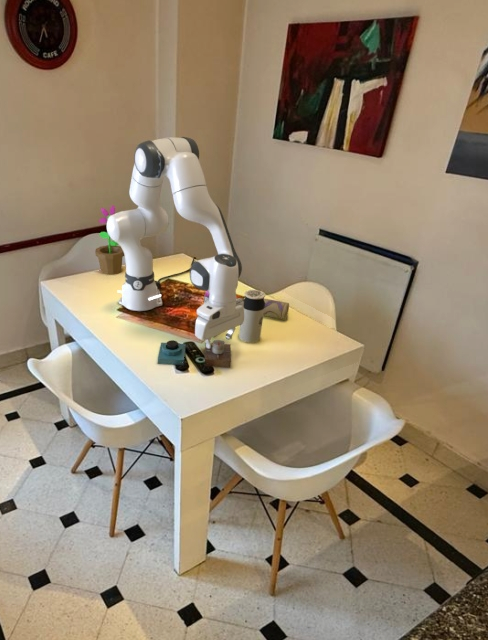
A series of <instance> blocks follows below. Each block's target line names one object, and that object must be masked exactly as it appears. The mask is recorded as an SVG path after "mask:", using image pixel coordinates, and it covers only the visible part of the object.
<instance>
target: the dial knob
mask: <svg viewBox="0 0 488 640" xmlns="http://www.w3.org/2000/svg"><path fill="white" fill-rule="evenodd" d="M212 343H213V347H212V352H213V353H215V354H222V353H223V352H224V344H225V341H224V340H222V339H215V340H213V341H212Z"/></svg>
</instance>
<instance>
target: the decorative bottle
mask: <svg viewBox="0 0 488 640" xmlns="http://www.w3.org/2000/svg"><path fill="white" fill-rule="evenodd" d="M238 299H241V300H244V299H245V298H243V297H237V298H236V300H238ZM264 301H265V307H264V314H263V316H265V317H271V318H275V319H280V320H286V319H287V317H288V315H289V310H290V303H289V302H284V301H280V300H275V299H269V298H264Z"/></svg>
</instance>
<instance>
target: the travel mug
mask: <svg viewBox="0 0 488 640" xmlns="http://www.w3.org/2000/svg"><path fill="white" fill-rule="evenodd" d="M243 295H244V298H243V299H244V300H243V302H244V306H243V307H244V322H243V324H242V325H240V326H239V329H238V330H239V331H238V339H239V340H240V341H242V342H245V343H249V344H251V343H252V344H253V343H257V342H259V341H260V340H261V335H262V334H261V333H262V328H263V327H262V326H263V320H264V315H263V314H264V307H265V301H264V299H265V298H266V293H265V292H264V291H262V290H260V289H248V290H245V292H244V293H243Z"/></svg>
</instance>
